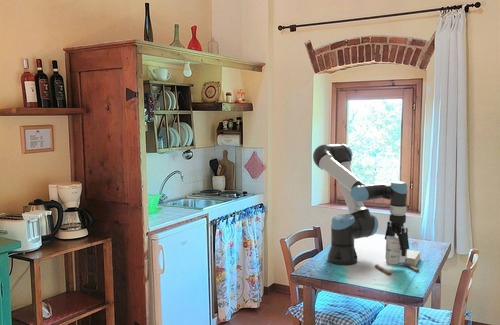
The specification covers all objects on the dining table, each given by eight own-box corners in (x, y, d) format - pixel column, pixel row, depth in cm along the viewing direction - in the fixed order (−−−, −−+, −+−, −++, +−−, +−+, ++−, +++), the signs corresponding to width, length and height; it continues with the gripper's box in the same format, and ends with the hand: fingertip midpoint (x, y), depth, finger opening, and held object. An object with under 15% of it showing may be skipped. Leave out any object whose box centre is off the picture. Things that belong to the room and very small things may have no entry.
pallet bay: (375, 267, 228) (375, 264, 228) (404, 264, 232) (404, 261, 232) (388, 275, 216) (388, 272, 216) (418, 271, 221) (419, 269, 220)
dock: (386, 262, 235) (386, 254, 234) (392, 255, 247) (392, 247, 246) (415, 266, 228) (415, 258, 227) (420, 259, 240) (420, 251, 239)
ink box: (402, 258, 228) (403, 235, 227) (406, 264, 220) (408, 240, 218) (384, 257, 229) (385, 235, 228) (388, 263, 221) (389, 240, 219)
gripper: (378, 209, 231) (376, 251, 234) (404, 220, 210) (402, 267, 213) (391, 208, 233) (389, 250, 236) (418, 219, 212) (416, 265, 215)
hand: (395, 258), depth 224 cm, fingers closed on ink box, 10 cm apart
